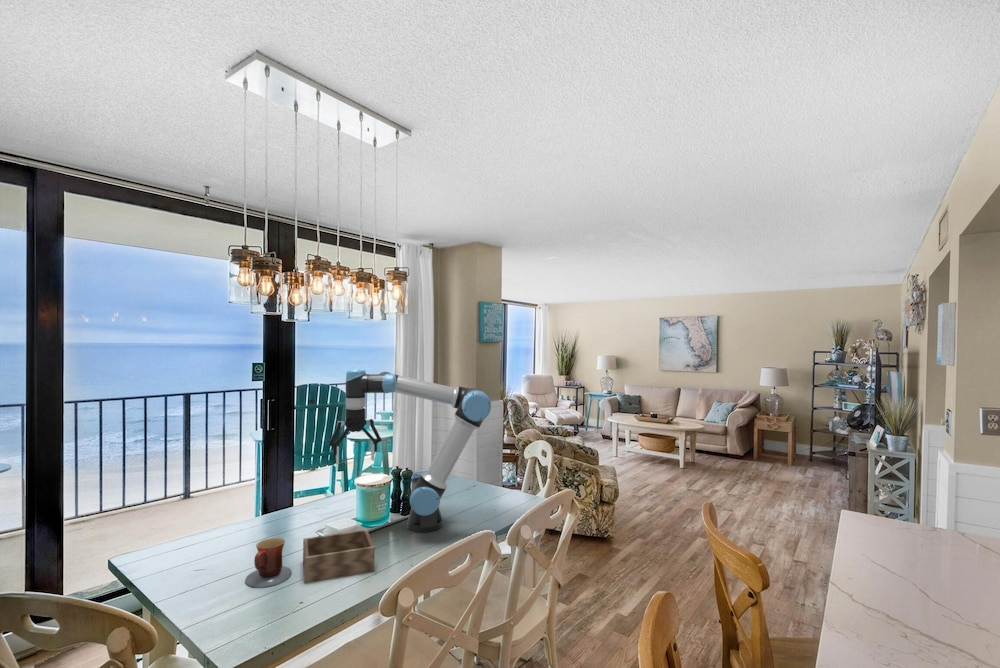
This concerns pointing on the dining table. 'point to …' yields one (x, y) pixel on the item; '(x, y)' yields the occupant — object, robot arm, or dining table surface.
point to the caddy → (337, 555)
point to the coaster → (267, 579)
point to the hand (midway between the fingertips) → (355, 461)
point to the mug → (269, 557)
